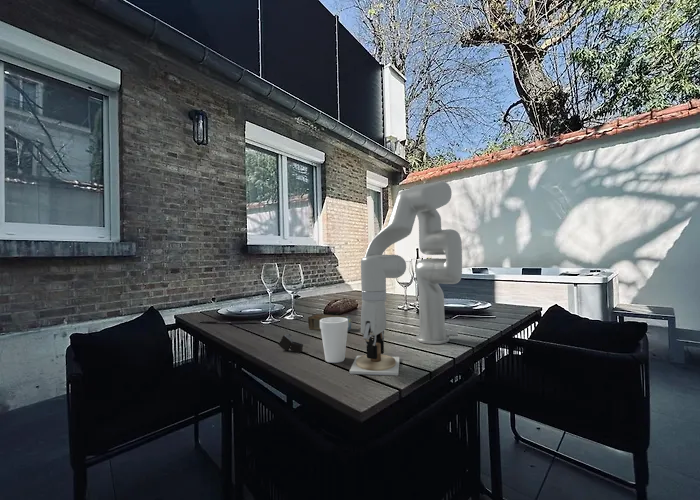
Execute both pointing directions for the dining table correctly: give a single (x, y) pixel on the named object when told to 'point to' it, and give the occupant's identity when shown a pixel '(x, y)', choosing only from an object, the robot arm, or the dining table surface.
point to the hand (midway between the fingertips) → (375, 355)
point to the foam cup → (334, 338)
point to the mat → (358, 370)
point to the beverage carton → (315, 319)
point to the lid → (376, 361)
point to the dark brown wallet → (290, 344)
